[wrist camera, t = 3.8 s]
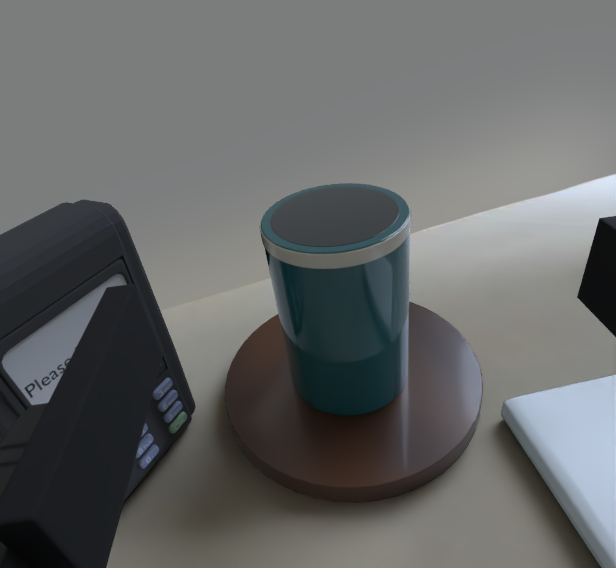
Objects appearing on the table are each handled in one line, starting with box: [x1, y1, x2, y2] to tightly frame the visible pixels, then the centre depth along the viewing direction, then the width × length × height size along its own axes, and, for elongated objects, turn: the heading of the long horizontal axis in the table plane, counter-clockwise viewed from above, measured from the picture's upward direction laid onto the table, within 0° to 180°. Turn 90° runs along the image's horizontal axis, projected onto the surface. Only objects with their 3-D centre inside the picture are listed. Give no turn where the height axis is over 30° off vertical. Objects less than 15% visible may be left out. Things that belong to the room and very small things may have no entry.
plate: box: [225, 302, 483, 502], centre depth 29 cm, size 16×16×1 cm
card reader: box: [0, 200, 195, 500], centre depth 22 cm, size 9×4×15 cm, turn 152°
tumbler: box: [260, 184, 411, 416], centre depth 26 cm, size 8×8×11 cm
